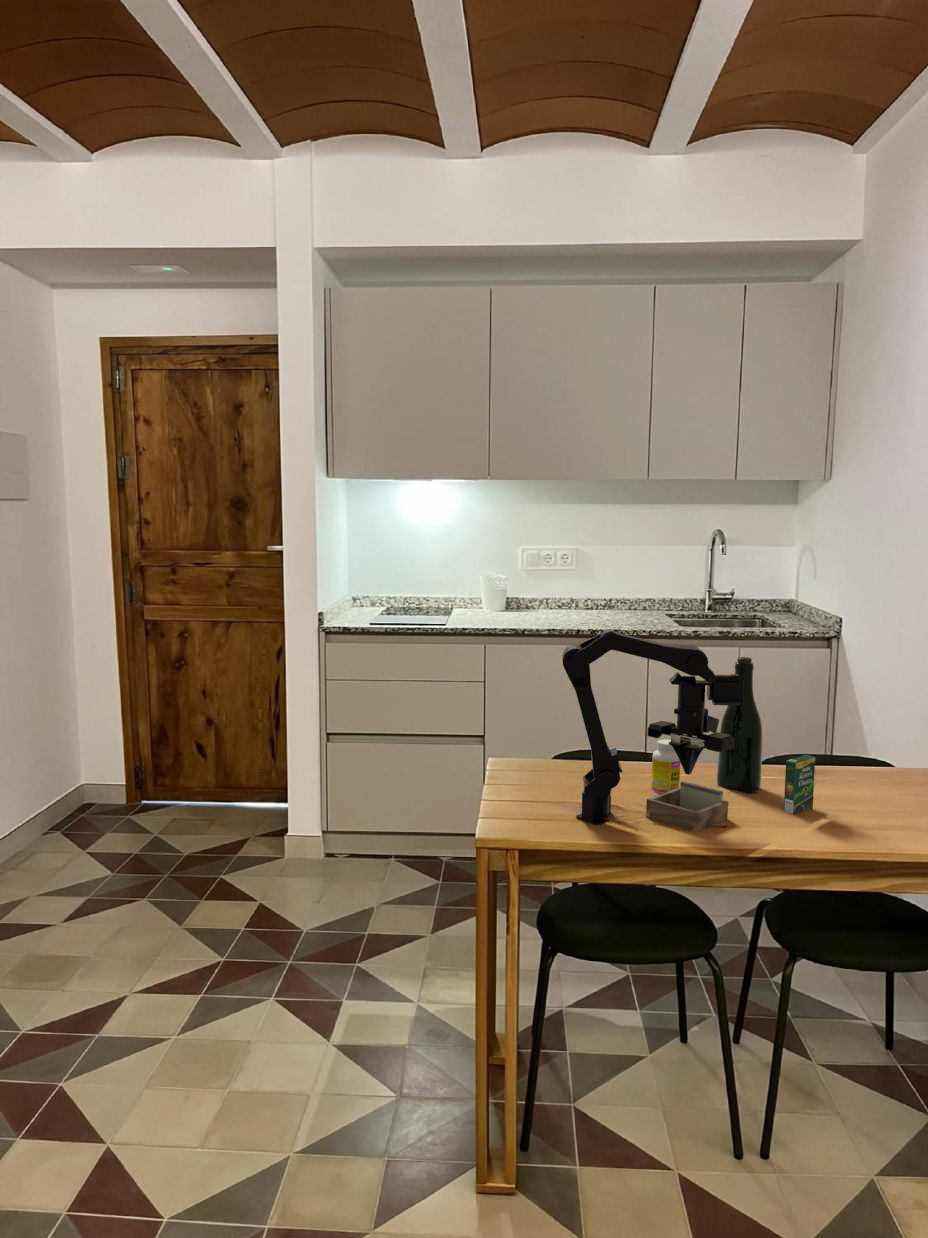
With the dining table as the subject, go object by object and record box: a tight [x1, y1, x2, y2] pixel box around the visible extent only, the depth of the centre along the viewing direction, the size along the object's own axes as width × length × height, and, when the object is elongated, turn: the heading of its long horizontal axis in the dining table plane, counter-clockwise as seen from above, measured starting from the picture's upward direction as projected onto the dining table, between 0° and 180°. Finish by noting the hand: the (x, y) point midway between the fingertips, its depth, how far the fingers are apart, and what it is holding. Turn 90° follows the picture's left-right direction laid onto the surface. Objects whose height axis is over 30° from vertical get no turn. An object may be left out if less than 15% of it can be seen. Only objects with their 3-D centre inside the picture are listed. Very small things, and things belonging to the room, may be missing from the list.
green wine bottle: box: [716, 656, 763, 795], centre depth 224 cm, size 10×10×33 cm
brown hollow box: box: [645, 787, 729, 833], centre depth 201 cm, size 12×13×5 cm
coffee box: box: [783, 754, 816, 815], centre depth 206 cm, size 8×3×13 cm, turn 127°
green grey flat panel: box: [679, 780, 724, 812], centre depth 204 cm, size 1×10×6 cm, turn 43°
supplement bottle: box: [650, 739, 681, 794], centre depth 220 cm, size 7×7×13 cm
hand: (688, 774), depth 199 cm, fingers closed
